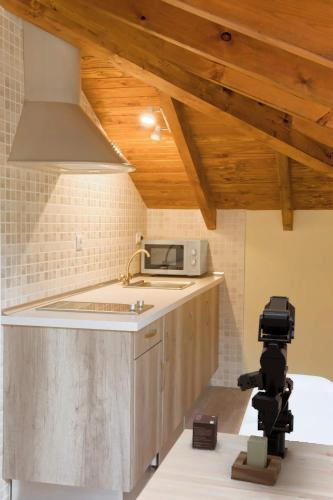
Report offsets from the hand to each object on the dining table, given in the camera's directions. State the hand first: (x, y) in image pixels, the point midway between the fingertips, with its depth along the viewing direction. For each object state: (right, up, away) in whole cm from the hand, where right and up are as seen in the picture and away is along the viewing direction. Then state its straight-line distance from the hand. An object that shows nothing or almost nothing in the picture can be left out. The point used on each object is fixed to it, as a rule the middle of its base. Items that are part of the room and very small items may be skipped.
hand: (272, 427), depth 149 cm
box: (-15, -10, +17) cm, 25 cm away
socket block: (-4, -11, 0) cm, 12 cm away
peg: (-4, -11, 0) cm, 11 cm away
